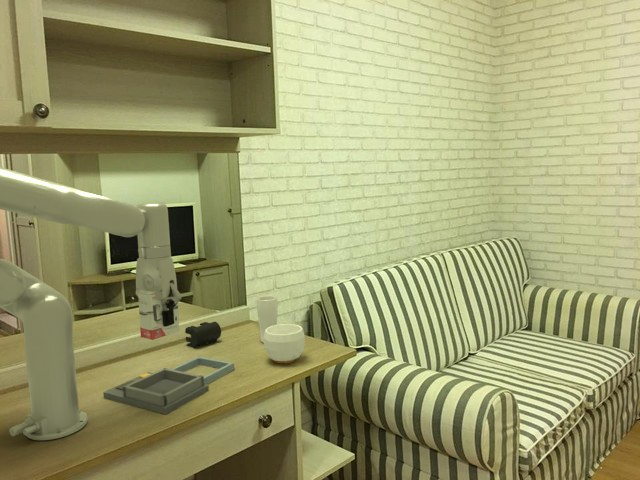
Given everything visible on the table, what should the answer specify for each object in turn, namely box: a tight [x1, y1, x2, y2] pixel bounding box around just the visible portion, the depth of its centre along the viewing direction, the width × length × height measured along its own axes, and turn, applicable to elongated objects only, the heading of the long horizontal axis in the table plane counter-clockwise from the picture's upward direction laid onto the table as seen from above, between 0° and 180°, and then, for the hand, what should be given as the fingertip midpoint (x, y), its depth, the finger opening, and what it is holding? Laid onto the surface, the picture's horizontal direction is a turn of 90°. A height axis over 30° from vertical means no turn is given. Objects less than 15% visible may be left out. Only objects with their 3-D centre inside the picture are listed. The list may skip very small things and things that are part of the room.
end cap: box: [184, 321, 222, 349], centre depth 173 cm, size 10×7×7 cm
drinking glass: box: [256, 295, 278, 344], centre depth 173 cm, size 7×7×15 cm
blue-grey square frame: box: [171, 356, 235, 385], centre depth 146 cm, size 14×14×2 cm
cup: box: [263, 323, 306, 364], centre depth 155 cm, size 12×12×10 cm
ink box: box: [137, 290, 180, 341], centre depth 129 cm, size 9×5×12 cm, turn 143°
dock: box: [102, 367, 210, 415], centre depth 133 cm, size 15×22×4 cm
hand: (160, 323), depth 129 cm, fingers closed on ink box, 5 cm apart
